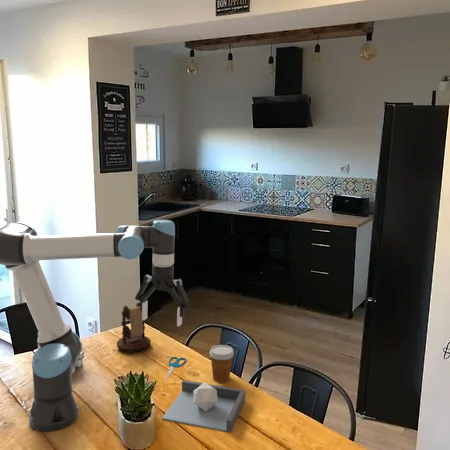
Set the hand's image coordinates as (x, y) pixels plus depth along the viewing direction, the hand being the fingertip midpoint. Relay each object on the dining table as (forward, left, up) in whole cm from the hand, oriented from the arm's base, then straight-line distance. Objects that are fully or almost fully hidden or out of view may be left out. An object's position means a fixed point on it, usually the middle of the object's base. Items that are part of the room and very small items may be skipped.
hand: (161, 322), depth 165 cm
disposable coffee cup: (+16, -18, -27) cm, 36 cm away
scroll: (+31, +27, -27) cm, 49 cm away
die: (-5, -18, -27) cm, 33 cm away
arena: (-6, -19, -27) cm, 33 cm away
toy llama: (+5, +45, -27) cm, 53 cm away
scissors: (+17, +3, -28) cm, 33 cm away
